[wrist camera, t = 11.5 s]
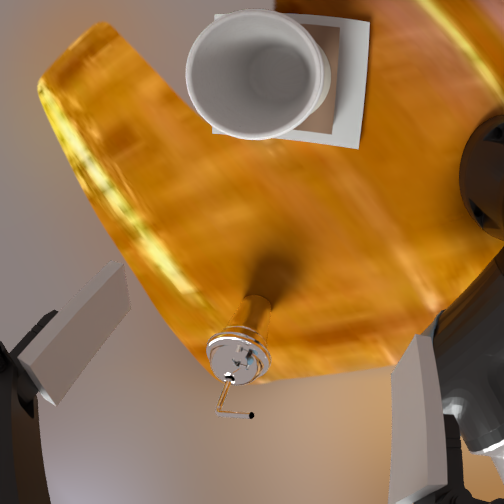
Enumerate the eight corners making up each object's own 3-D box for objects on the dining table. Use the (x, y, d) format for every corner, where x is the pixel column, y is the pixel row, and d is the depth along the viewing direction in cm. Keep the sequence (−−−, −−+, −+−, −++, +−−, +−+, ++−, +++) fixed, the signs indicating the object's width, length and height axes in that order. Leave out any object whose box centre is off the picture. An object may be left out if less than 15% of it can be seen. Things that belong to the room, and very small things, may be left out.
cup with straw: (224, 282, 46) (166, 393, 30) (285, 284, 44) (249, 408, 27) (234, 325, 51) (189, 431, 34) (290, 328, 48) (260, 444, 32)
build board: (368, 24, 25) (369, 22, 23) (357, 146, 32) (358, 149, 31) (219, 16, 28) (214, 14, 26) (217, 131, 35) (212, 133, 34)
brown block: (339, 35, 25) (340, 27, 21) (332, 126, 30) (331, 134, 26) (241, 29, 27) (225, 22, 23) (238, 117, 32) (223, 124, 28)
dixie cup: (216, 56, 25) (162, 51, 16) (300, 16, 21) (282, -15, 13) (257, 133, 28) (221, 161, 19) (342, 99, 24) (348, 109, 16)
